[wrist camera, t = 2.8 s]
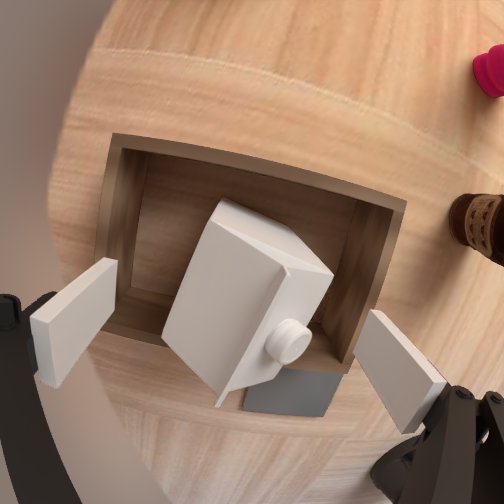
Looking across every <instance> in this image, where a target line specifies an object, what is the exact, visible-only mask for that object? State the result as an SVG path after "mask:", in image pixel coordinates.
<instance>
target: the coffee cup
mask: <svg viewBox="0 0 504 504" xmlns="http://www.w3.org/2000/svg"><path fill="white" fill-rule="evenodd" d="M450 229H451V233H452V237H453V238H454V239H455V241H456V243H458V244H462V245H466V246H470V247H472V248H473V249H474V250H477V251H479V252H480V253H481V254H483V255H484V256H485V257H487V258H488V259H490V260H491V261H493V262H495V263H497V264H499V265H501V266H503V267H504V195H502V194H501V195H491V194H463V195H461V196H460V197H458V198H457V199H456V201H455V202H454V204H453V207H452V209H451V212H450Z"/></svg>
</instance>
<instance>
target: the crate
mask: <svg viewBox="0 0 504 504" xmlns="http://www.w3.org/2000/svg"><path fill="white" fill-rule="evenodd" d="M150 154H158V155H164V156H170V157H175V158H181V159H187V160H192V161H197V162H203V163H208V164H213V165H218V166H223V167H227V168H232V169H237V170H242V171H246V172H251V173H255V174H259V175H264V176H268V177H272V178H276V179H281V180H285V181H289V182H293V183H297V184H301V185H304V186H308V187H312V188H316V189H320V190H323V191H327V192H331V193H334V194H338V195H341V196H345V197H348V198H352V199H355V200H357V202H356V206H355V210H354V214H353V217H352V221H351V225H350V229H349V232H348V236H347V240H346V243H345V247H344V250H343V254H342V257H341V260H340V264H339V267H338V270H337V274H336V277H335V280H334V283H333V287H332V290H331V293H330V296H329V299H328V302H327V305H326V308H325V311H324V314H323V317H322V320H321V323H320V324H317V323H310V322H309V323H308V325H307V326H306V327H307V328H308V329H309V330H310V331H311V332H312V338H311V341H310V343H309V345H308V346H307V348H306V349H305V351H304V352H303V353H302V354H301V356H300V357H298V358H297V359H296V360H295V361H293V362H292V363H290V364H287V365H283V366H282V367H283V368H291V369H300V370H309V371H320V372H331V373H344V374H347V373H348V371H349V369H350V367H351V364H352V362H353V360H354V358H355V355H354V354H353V350H354V348H355V346H356V343H357V341H358V338H359V336H360V333H361V331H362V328H363V326H364V323H365V321H366V318H367V316H368V313H369V310H370V309H372V310H374V308H375V305H376V302H377V299H378V297H379V294H380V291H381V288H382V285H383V282H384V279H385V276H386V273H387V270H388V267H389V264H390V261H391V257H392V254H393V251H394V248H395V244H396V241H397V237H398V234H399V230H400V227H401V223H402V219H403V215H404V211H405V207H406V203H407V201H405V200H402V199H400V198H397V197H394V196H391V195H388V194H385V193H382V192H379V191H376V190H373V189H370V188H366V187H363V186H360V185H357V184H354V183H350V182H347V181H344V180H340V179H337V178H334V177H330V176H327V175H323V174H319V173H316V172H312V171H309V170H305V169H301V168H297V167H293V166H289V165H285V164H281V163H277V162H273V161H269V160H265V159H261V158H256V157H252V156H247V155H243V154H238V153H234V152H229V151H224V150H219V149H214V148H209V147H203V146H198V145H193V144H187V143H181V142H175V141H169V140H163V139H156V138H149V137H142V136H135V135H127V134H119V133H113V134H112V139H111V143H110V148H109V153H108V158H107V164H106V169H105V175H104V181H103V187H102V194H101V201H100V208H99V216H98V224H97V234H96V245H95V257H94V264H96V263H97V262H98V261H100V260H101V259H102V258H104V257H105V258H109V259H114V260H118V264H117V276H116V291H115V310H114V312H113V313H112V314H111V316H110V317H109V318H108V319H107V321H106V322H105V323H104V325H103V326H102V327H101V329H100V330H103V331H106V332H109V333H113V334H117V335H120V336H124V337H128V338H132V339H135V340H139V341H143V342H147V343H151V344H156V345H160V346H164V347H168V348H170V347H169V346H168V344H167V343H166V342H165V341H164V340H163V339H162V338H161V336H162V332H163V329H164V326H165V324H166V321H167V318H168V316H169V313H170V311H171V308H172V306H173V303H174V301H175V298H176V297H171V296H167V295H162V294H158V293H153V292H149V291H145V290H141V289H136V288H132V287H131V277H132V267H133V258H134V250H135V242H136V234H137V227H138V220H139V214H140V208H141V201H142V196H143V190H144V184H145V179H146V174H147V169H148V164H149V159H150Z"/></svg>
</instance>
